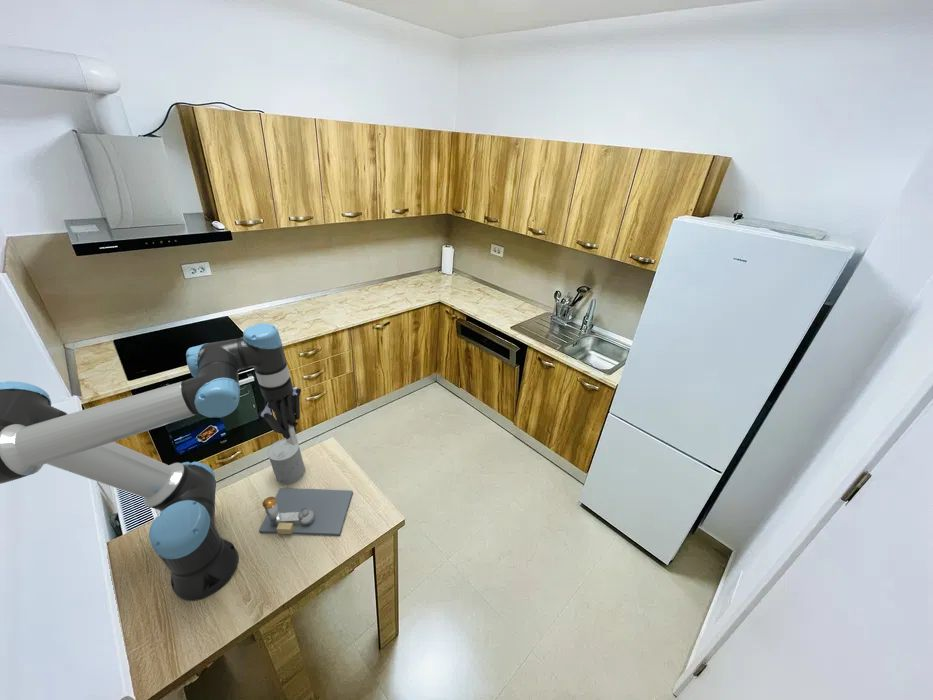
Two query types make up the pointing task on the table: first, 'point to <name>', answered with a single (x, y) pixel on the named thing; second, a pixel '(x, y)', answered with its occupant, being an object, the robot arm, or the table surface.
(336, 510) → the plate
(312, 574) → the table surface
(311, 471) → the table surface
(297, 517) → the bar
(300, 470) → the grey cylinder
